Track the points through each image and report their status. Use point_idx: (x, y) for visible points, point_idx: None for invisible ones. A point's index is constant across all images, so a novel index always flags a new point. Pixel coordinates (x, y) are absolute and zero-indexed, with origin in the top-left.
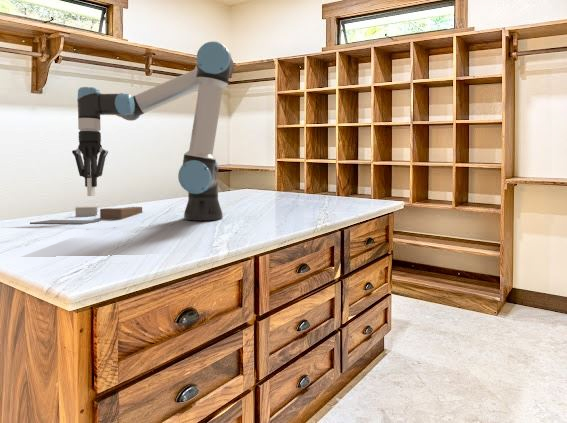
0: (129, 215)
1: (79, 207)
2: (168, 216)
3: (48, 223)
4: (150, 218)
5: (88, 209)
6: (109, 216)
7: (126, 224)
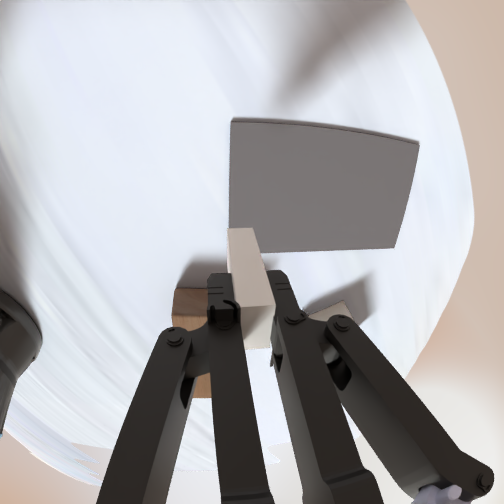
0: None
1: None
2: None
3: (366, 134)
4: (141, 354)
5: None
6: None
7: (66, 154)
